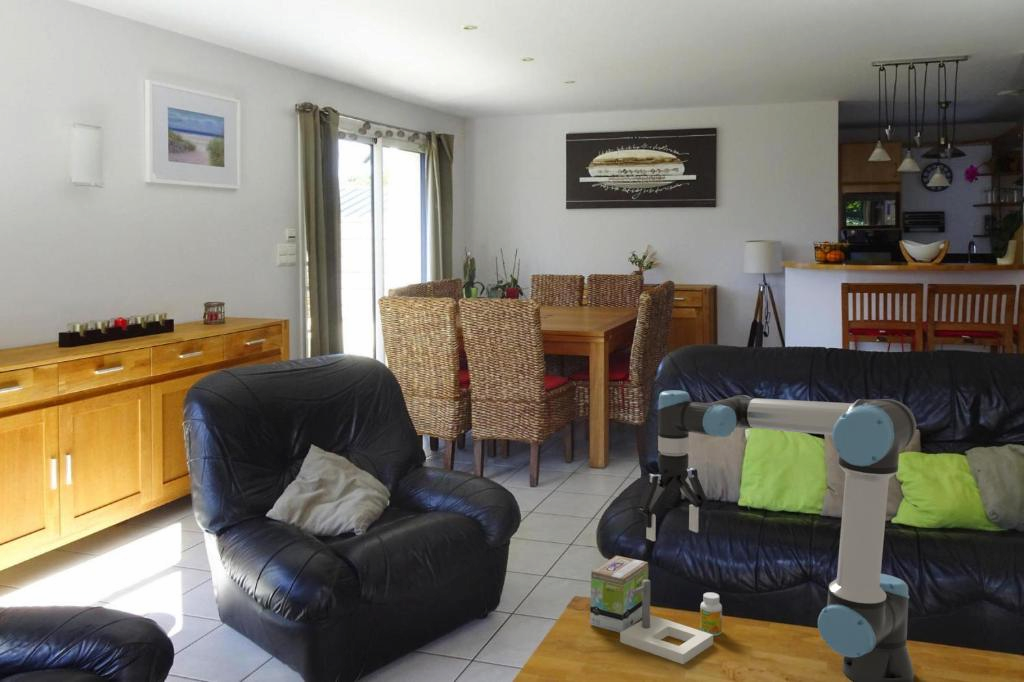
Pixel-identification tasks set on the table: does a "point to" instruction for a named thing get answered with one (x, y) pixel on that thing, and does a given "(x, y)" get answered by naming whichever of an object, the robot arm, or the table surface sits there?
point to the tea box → (617, 593)
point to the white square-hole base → (663, 634)
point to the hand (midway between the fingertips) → (672, 535)
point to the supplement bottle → (711, 614)
